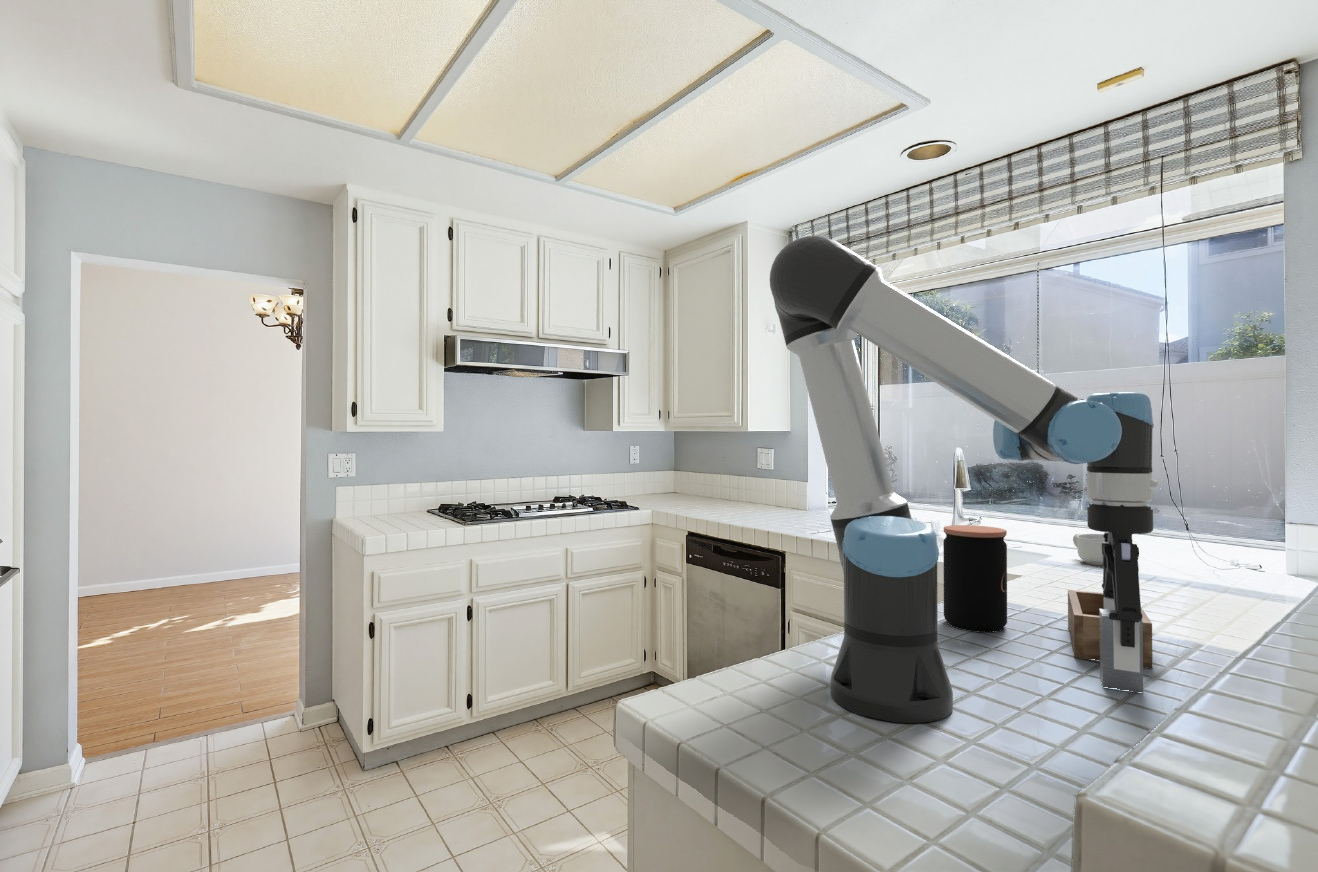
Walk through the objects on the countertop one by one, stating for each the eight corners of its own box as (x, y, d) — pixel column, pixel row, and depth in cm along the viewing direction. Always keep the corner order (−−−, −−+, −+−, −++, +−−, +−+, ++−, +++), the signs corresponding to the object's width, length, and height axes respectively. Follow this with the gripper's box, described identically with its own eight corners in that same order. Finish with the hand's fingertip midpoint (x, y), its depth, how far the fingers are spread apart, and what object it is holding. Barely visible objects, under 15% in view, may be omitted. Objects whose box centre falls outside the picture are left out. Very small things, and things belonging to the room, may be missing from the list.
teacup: (1131, 567, 179) (1131, 538, 179) (1091, 567, 179) (1091, 538, 179) (1098, 558, 193) (1097, 531, 193) (1061, 558, 193) (1061, 531, 193)
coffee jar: (1015, 635, 115) (1015, 533, 115) (951, 631, 117) (950, 531, 117) (996, 619, 125) (996, 525, 125) (937, 616, 127) (937, 524, 128)
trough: (1074, 657, 102) (1074, 614, 103) (1067, 626, 120) (1067, 589, 120) (1152, 668, 98) (1152, 623, 98) (1133, 634, 115) (1133, 595, 115)
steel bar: (1102, 688, 90) (1102, 615, 90) (1099, 677, 94) (1099, 608, 94) (1143, 694, 88) (1142, 619, 88) (1138, 683, 92) (1137, 612, 92)
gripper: (1169, 512, 78) (1170, 689, 78) (1139, 497, 100) (1140, 636, 100) (1094, 509, 82) (1095, 678, 82) (1081, 495, 104) (1082, 629, 103)
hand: (1120, 655), depth 91 cm, fingers open, 13 cm apart
